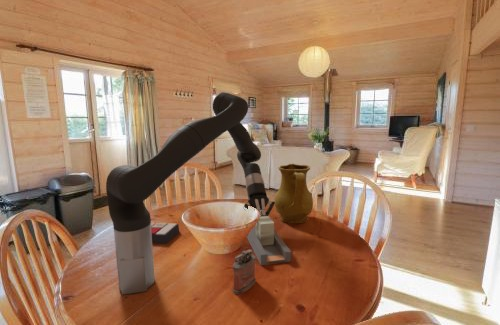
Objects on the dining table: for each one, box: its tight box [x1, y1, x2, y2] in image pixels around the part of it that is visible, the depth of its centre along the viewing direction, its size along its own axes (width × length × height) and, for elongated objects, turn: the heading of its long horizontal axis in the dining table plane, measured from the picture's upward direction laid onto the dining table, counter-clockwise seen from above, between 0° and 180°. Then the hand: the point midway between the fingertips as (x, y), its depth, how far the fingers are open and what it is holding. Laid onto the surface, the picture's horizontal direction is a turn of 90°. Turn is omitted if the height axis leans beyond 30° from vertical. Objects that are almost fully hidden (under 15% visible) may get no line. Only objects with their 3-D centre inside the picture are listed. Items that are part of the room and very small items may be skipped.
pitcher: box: [273, 163, 314, 224], centre depth 120 cm, size 17×19×25 cm
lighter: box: [232, 249, 257, 295], centre depth 73 cm, size 8×3×10 cm, turn 141°
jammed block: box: [254, 215, 275, 246], centre depth 98 cm, size 7×5×8 cm
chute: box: [246, 225, 292, 266], centre depth 99 cm, size 28×10×4 cm, turn 13°
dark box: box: [151, 222, 180, 245], centre depth 106 cm, size 11×4×15 cm
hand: (263, 226), depth 102 cm, fingers closed
